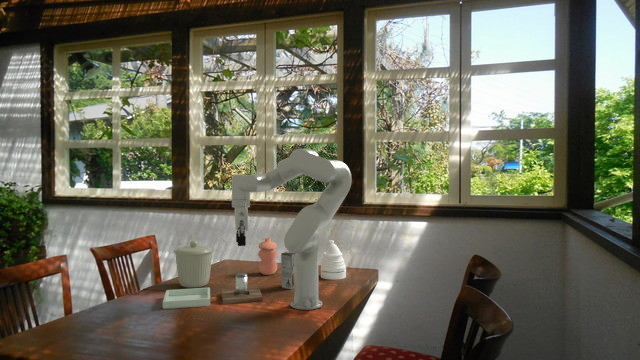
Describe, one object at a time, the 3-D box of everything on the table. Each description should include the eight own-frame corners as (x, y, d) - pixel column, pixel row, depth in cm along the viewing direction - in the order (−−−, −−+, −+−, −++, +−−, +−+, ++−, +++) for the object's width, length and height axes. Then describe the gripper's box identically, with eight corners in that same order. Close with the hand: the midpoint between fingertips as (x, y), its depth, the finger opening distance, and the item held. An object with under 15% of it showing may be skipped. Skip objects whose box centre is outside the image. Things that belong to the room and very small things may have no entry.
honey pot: (316, 275, 236) (316, 240, 235) (338, 272, 241) (338, 238, 241) (327, 280, 224) (327, 244, 223) (350, 278, 229) (350, 242, 229)
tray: (210, 306, 182) (210, 298, 182) (162, 309, 178) (162, 301, 177) (209, 294, 199) (209, 287, 199) (166, 297, 195) (166, 290, 195)
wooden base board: (262, 301, 188) (262, 296, 188) (223, 304, 184) (223, 299, 184) (258, 291, 204) (258, 287, 203) (221, 294, 200) (221, 289, 200)
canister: (203, 291, 204) (203, 244, 204) (166, 289, 208) (166, 243, 208) (220, 281, 222) (219, 238, 222) (185, 279, 226) (185, 237, 225)
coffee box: (293, 283, 218) (293, 249, 217) (304, 285, 214) (304, 251, 213) (281, 287, 210) (280, 253, 209) (292, 289, 206) (292, 254, 206)
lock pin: (248, 299, 192) (247, 275, 192) (236, 299, 191) (235, 276, 191) (247, 295, 197) (246, 272, 197) (235, 296, 196) (235, 273, 195)
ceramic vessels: (325, 278, 229) (325, 241, 228) (297, 287, 212) (297, 246, 212) (275, 269, 251) (274, 235, 250) (246, 276, 234) (246, 239, 234)
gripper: (251, 205, 186) (251, 247, 186) (248, 202, 202) (247, 240, 203) (233, 205, 184) (233, 247, 184) (230, 202, 200) (230, 241, 201)
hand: (240, 243), depth 193 cm, fingers open, 9 cm apart
